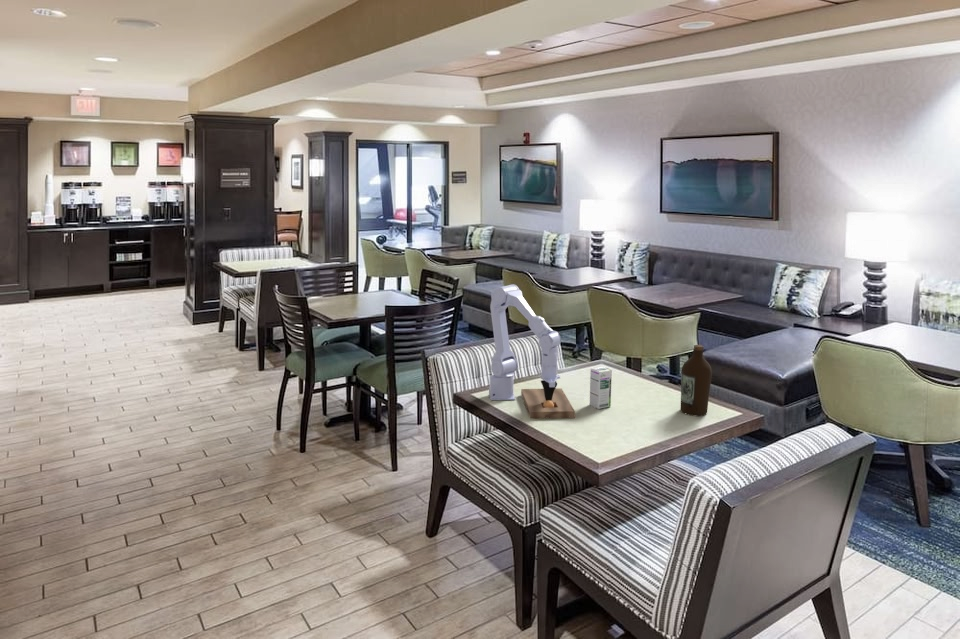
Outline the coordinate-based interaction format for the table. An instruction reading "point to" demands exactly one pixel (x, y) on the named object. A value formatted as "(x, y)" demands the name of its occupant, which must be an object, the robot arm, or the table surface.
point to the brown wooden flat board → (536, 400)
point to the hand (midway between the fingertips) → (548, 400)
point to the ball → (548, 404)
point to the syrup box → (600, 387)
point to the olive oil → (695, 383)
